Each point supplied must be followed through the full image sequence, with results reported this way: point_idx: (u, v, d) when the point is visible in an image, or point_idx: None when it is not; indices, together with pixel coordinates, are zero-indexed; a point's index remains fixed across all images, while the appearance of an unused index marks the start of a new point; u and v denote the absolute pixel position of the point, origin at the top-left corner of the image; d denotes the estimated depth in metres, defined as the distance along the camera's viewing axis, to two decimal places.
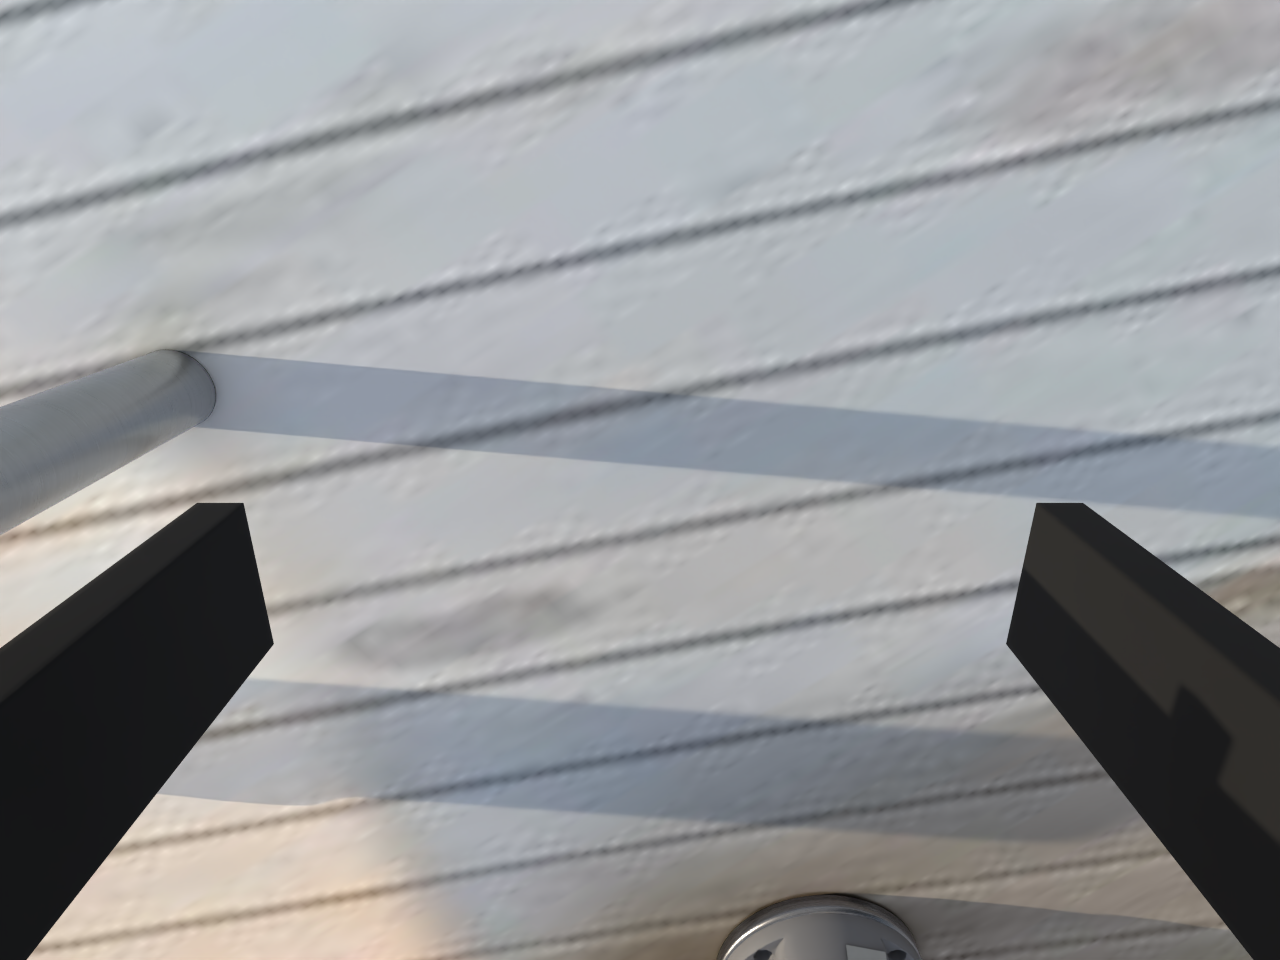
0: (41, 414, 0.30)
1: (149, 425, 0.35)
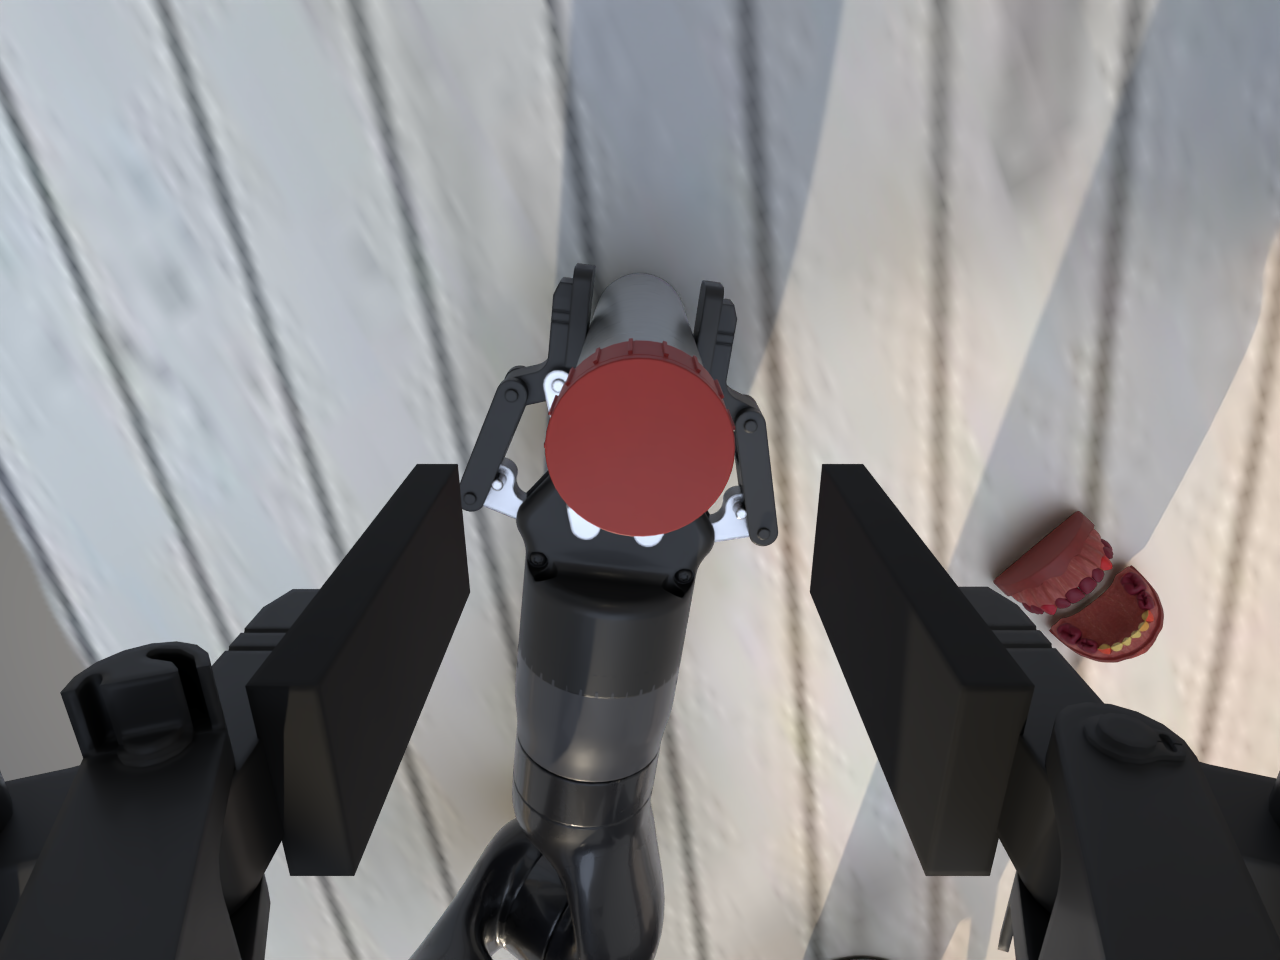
0: (590, 335, 0.25)
1: (648, 291, 0.29)
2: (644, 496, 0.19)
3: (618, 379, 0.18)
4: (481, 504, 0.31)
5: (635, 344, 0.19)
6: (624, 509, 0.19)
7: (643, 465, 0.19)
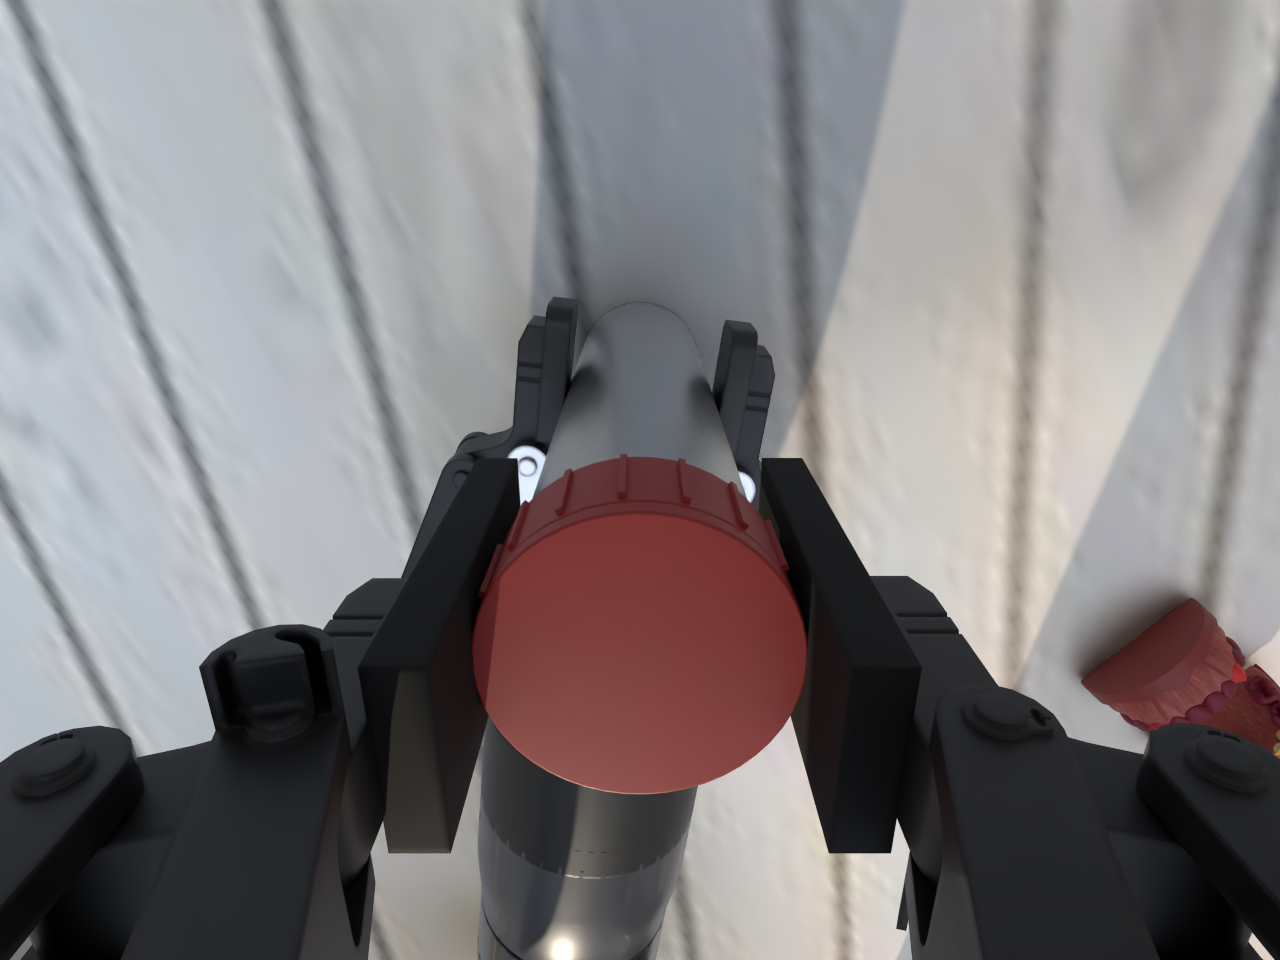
0: (566, 410, 0.17)
1: (651, 335, 0.21)
2: (647, 734, 0.11)
3: (600, 548, 0.10)
4: None
5: (631, 468, 0.11)
6: (612, 754, 0.11)
7: (645, 687, 0.11)
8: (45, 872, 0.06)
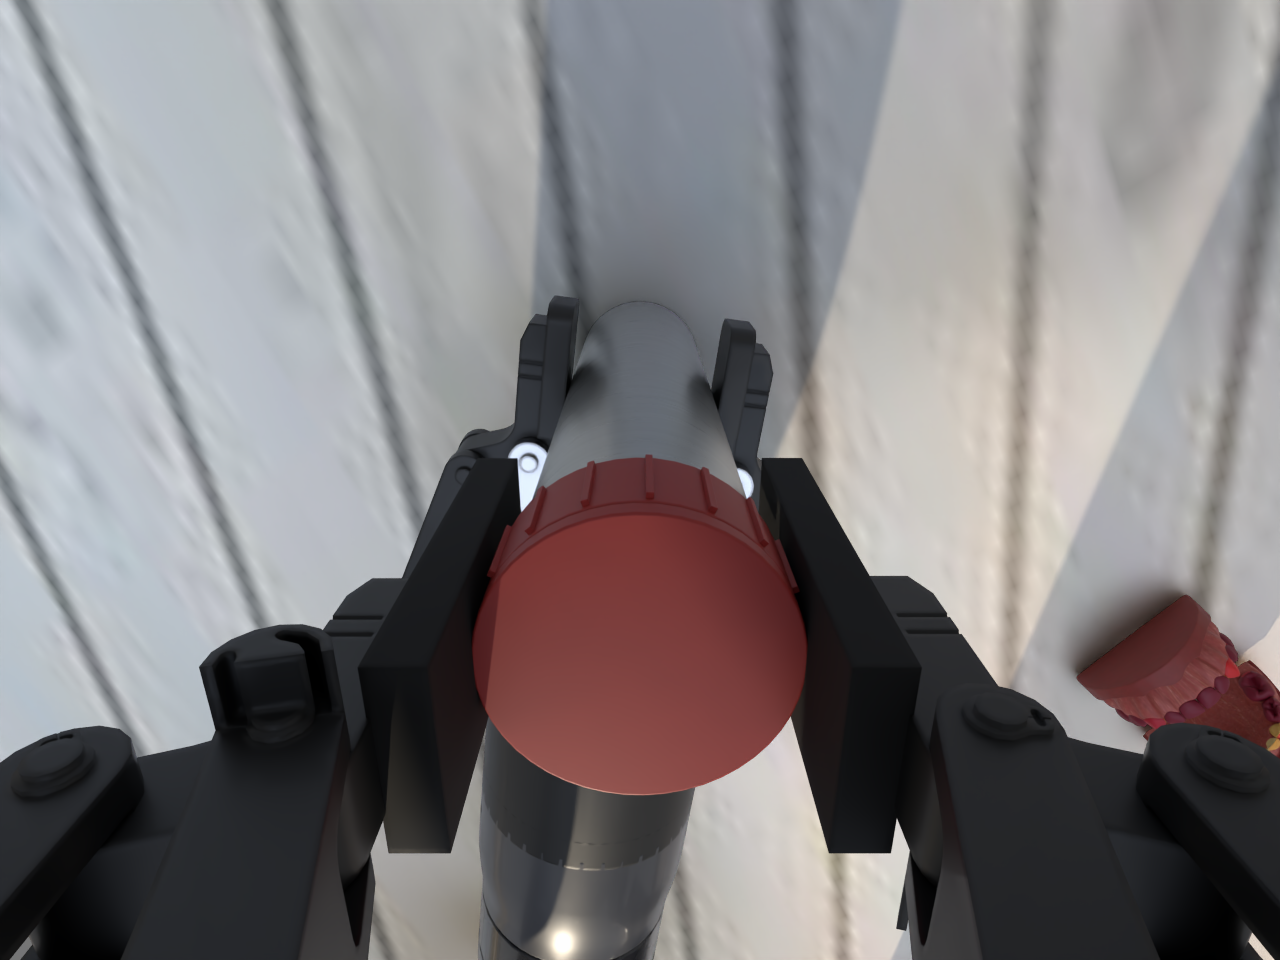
0: (567, 406, 0.18)
1: (651, 333, 0.22)
2: (724, 651, 0.10)
3: (516, 708, 0.11)
4: None
5: None
6: (753, 678, 0.10)
7: (664, 659, 0.10)
8: (45, 872, 0.06)
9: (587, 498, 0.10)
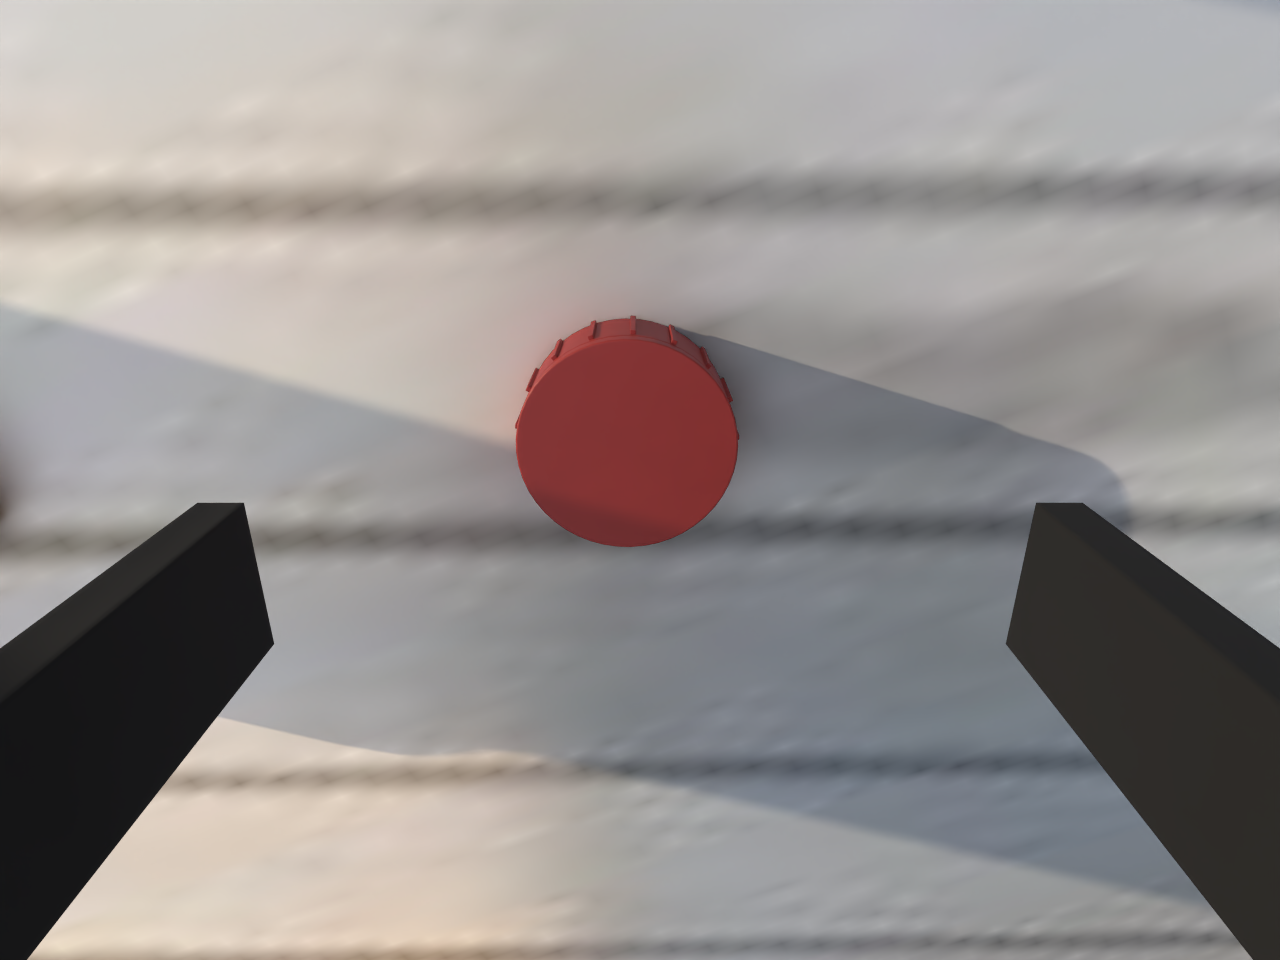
0: None
1: None
2: (683, 437, 0.16)
3: (545, 481, 0.16)
4: None
5: None
6: (702, 458, 0.16)
7: (643, 443, 0.16)
8: None
9: (592, 335, 0.15)
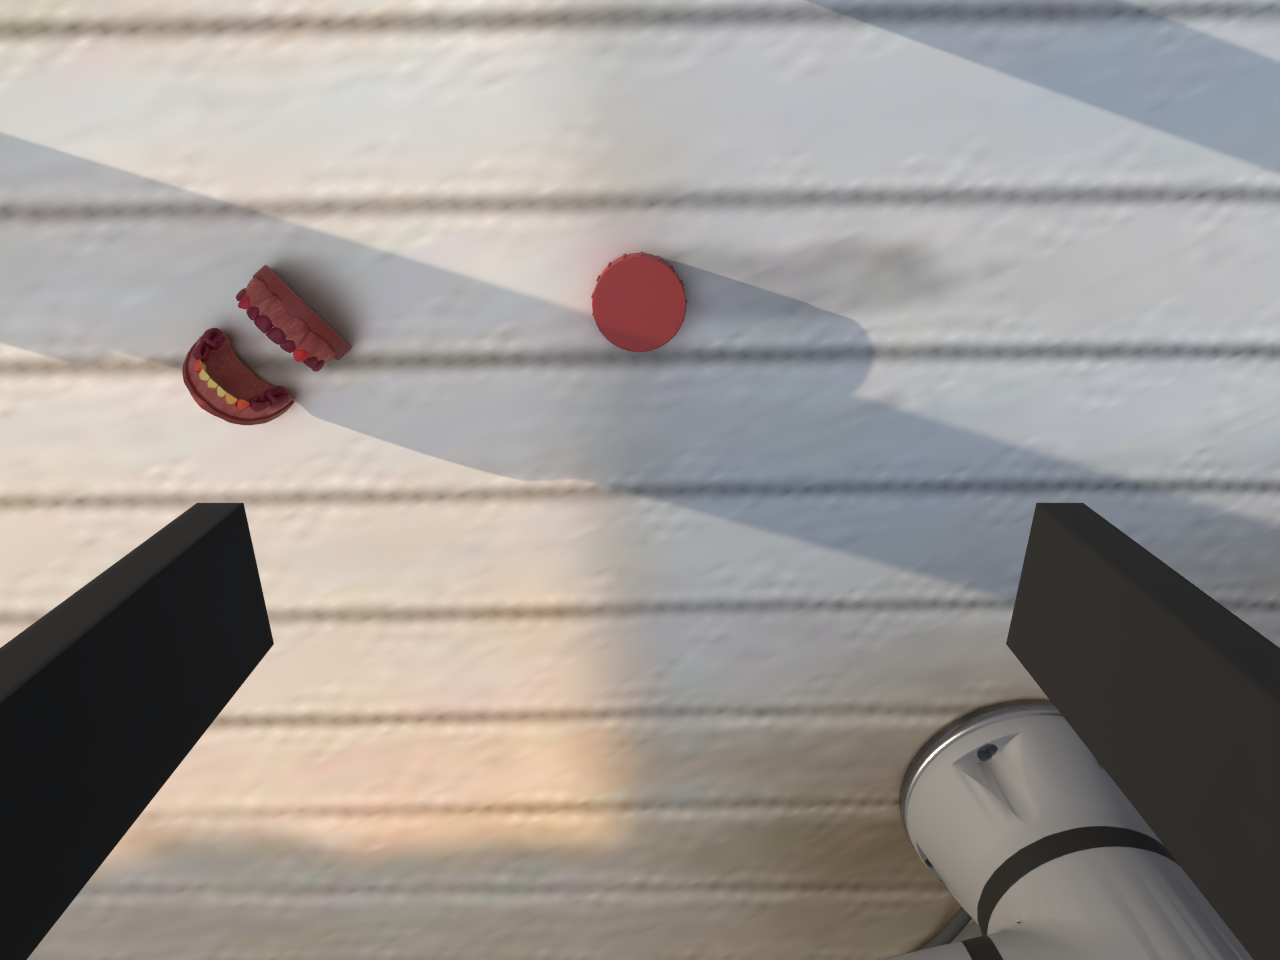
0: None
1: None
2: (662, 300, 0.37)
3: (604, 320, 0.38)
4: None
5: None
6: (670, 309, 0.38)
7: (646, 303, 0.37)
8: None
9: (624, 256, 0.37)
